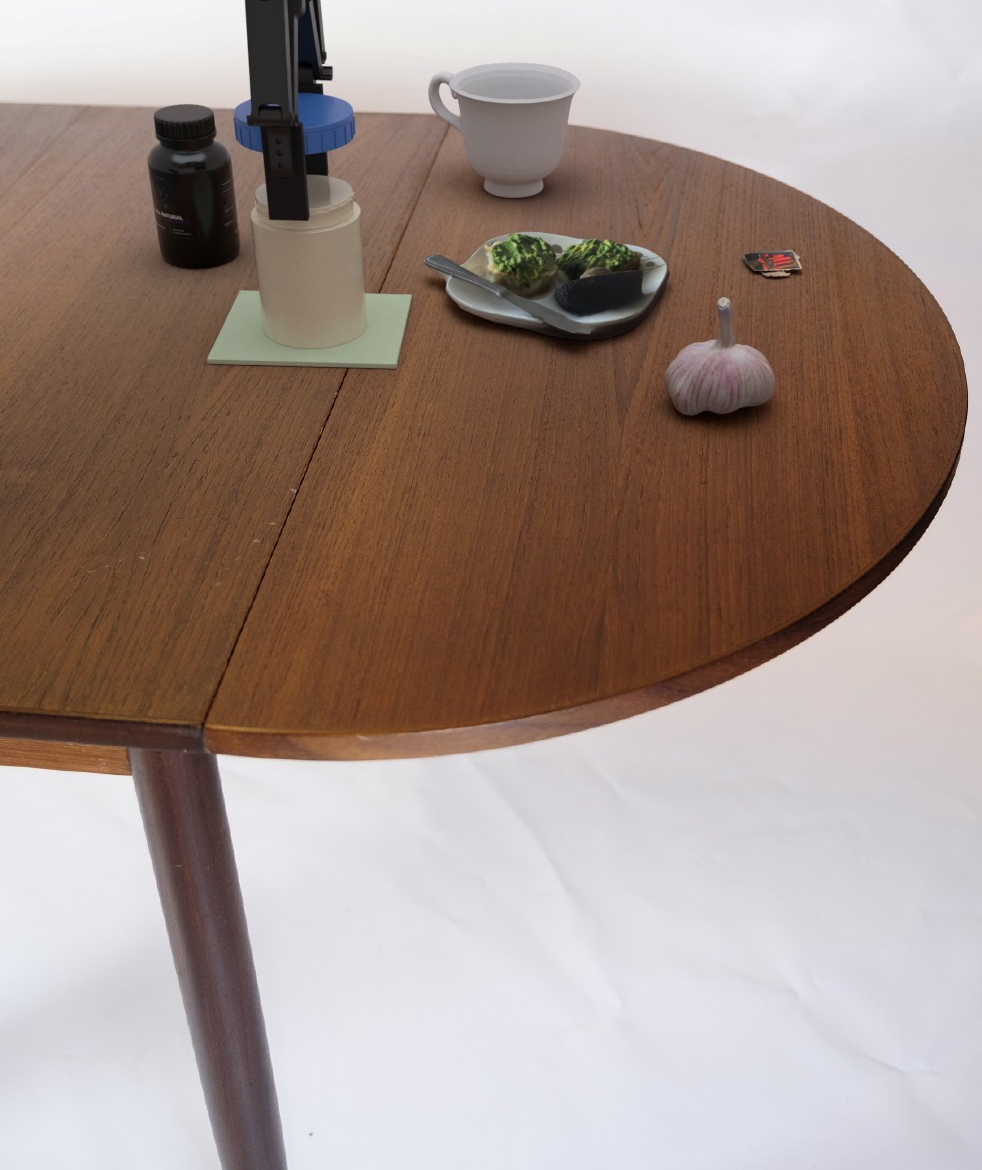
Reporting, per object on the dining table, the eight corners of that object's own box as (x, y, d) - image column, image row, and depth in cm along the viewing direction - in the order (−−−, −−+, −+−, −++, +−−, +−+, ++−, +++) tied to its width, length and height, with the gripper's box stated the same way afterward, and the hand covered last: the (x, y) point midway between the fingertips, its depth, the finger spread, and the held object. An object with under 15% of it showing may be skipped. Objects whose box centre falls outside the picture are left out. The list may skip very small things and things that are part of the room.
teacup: (459, 155, 131) (458, 52, 125) (595, 177, 125) (600, 72, 119) (402, 193, 122) (398, 85, 116) (544, 219, 117) (548, 107, 111)
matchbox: (736, 257, 110) (737, 252, 109) (791, 251, 111) (791, 246, 111) (760, 279, 106) (761, 274, 106) (816, 273, 107) (817, 267, 107)
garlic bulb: (658, 425, 87) (668, 317, 83) (666, 375, 93) (676, 271, 88) (770, 436, 86) (788, 327, 82) (771, 384, 92) (787, 280, 87)
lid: (362, 119, 93) (361, 94, 92) (345, 157, 86) (344, 130, 85) (249, 116, 93) (246, 90, 92) (223, 153, 87) (220, 126, 85)
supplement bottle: (154, 270, 108) (131, 125, 100) (168, 238, 113) (146, 99, 106) (236, 269, 108) (219, 125, 100) (246, 238, 113) (230, 99, 106)
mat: (207, 364, 94) (206, 359, 94) (240, 294, 104) (239, 290, 104) (396, 369, 94) (396, 364, 94) (412, 299, 103) (412, 294, 103)
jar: (253, 347, 96) (237, 211, 89) (273, 301, 102) (259, 171, 95) (360, 350, 95) (351, 213, 89) (373, 304, 102) (366, 173, 95)
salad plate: (382, 318, 100) (379, 262, 98) (471, 236, 114) (471, 185, 111) (617, 363, 95) (622, 305, 92) (683, 271, 108) (688, 218, 105)
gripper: (244, -189, 87) (274, 146, 101) (168, -143, 70) (216, 251, 84) (354, -187, 87) (369, 149, 100) (304, -140, 70) (330, 254, 84)
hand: (300, 195), depth 92 cm, fingers closed on lid, 8 cm apart
